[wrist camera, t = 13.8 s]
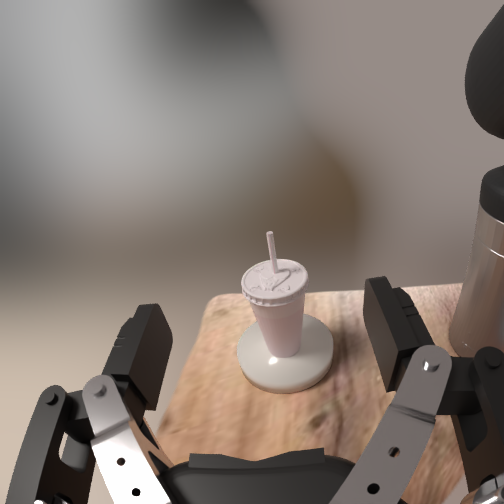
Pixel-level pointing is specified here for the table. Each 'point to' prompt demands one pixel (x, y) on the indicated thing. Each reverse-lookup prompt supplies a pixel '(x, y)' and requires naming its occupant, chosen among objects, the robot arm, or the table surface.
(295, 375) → the trivet
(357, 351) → the table surface
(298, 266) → the smoothie
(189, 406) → the table surface
